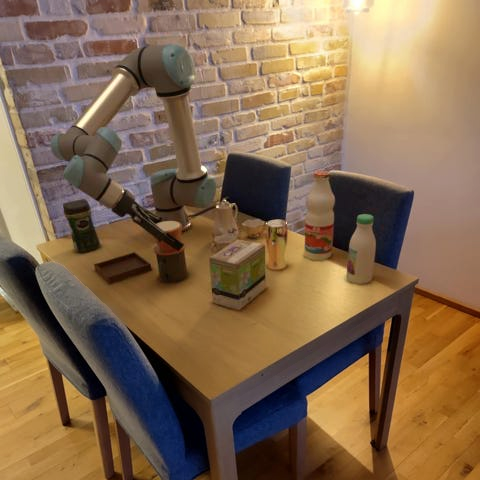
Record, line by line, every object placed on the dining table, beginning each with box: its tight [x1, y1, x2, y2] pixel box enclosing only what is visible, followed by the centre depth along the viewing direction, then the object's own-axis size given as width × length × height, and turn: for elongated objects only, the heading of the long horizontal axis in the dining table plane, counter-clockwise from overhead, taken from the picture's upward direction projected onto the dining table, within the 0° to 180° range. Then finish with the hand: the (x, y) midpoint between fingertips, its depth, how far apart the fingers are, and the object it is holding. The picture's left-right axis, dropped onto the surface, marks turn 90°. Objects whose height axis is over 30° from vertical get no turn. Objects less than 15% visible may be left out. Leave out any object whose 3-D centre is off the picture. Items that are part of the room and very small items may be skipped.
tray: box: [93, 251, 153, 285], centre depth 149 cm, size 15×13×2 cm
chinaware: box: [210, 197, 266, 253], centre depth 161 cm, size 28×17×17 cm, turn 148°
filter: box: [152, 221, 186, 255], centre depth 137 cm, size 10×10×9 cm
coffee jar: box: [62, 198, 101, 253], centre depth 163 cm, size 10×8×19 cm
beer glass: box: [265, 219, 289, 271], centre depth 141 cm, size 7×7×15 cm
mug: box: [155, 249, 188, 284], centre depth 139 cm, size 12×9×10 cm
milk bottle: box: [346, 213, 377, 285], centre depth 129 cm, size 8×8×20 cm
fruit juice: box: [304, 170, 336, 261], centre depth 143 cm, size 9×9×28 cm
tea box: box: [208, 238, 267, 311], centre depth 126 cm, size 15×10×15 cm, turn 148°
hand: (178, 241), depth 138 cm, fingers closed on filter, 10 cm apart
